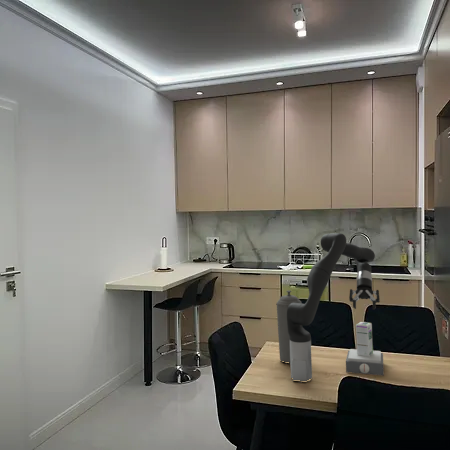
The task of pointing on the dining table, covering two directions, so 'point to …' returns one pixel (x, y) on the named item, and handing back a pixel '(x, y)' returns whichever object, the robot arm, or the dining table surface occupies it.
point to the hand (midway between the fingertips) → (364, 308)
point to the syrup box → (364, 339)
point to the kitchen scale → (365, 363)
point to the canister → (284, 325)
